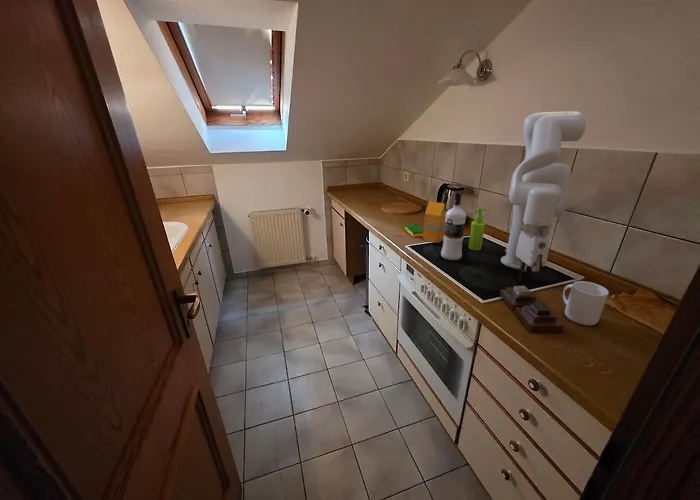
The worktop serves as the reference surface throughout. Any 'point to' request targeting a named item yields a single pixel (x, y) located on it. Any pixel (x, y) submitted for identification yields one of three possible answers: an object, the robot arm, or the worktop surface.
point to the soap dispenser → (477, 231)
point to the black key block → (538, 320)
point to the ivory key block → (517, 298)
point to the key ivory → (521, 290)
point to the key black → (540, 309)
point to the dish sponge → (414, 230)
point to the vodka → (454, 231)
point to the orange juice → (434, 222)
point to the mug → (585, 302)
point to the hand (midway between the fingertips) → (523, 281)
